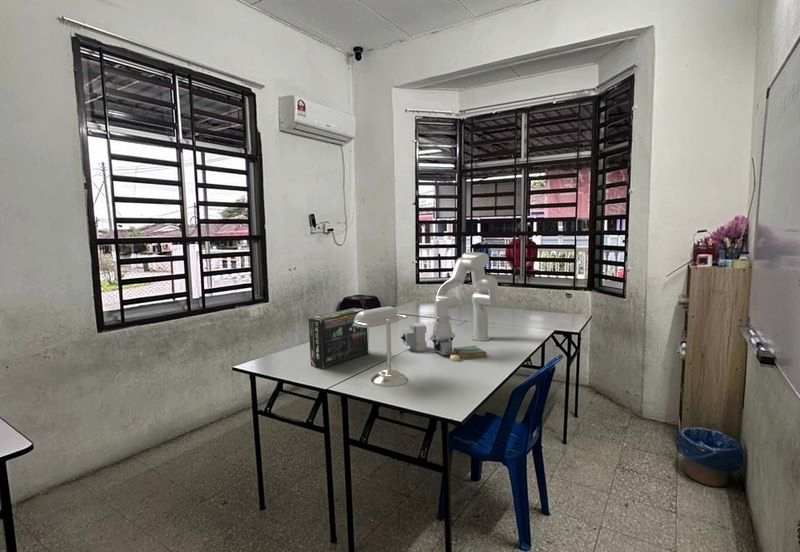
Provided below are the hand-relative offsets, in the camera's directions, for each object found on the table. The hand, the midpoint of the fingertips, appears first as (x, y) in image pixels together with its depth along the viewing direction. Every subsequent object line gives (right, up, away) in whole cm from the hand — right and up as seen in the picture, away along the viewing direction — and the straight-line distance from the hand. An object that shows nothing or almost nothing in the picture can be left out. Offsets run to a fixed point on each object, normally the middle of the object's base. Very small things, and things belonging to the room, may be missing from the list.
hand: (442, 349), depth 240 cm
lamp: (-32, -8, -37) cm, 50 cm away
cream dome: (+6, -4, -10) cm, 12 cm away
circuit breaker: (-17, -2, +11) cm, 20 cm away
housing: (0, -1, 0) cm, 1 cm away
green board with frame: (+15, -3, -1) cm, 16 cm away
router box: (-58, -5, -7) cm, 59 cm away
